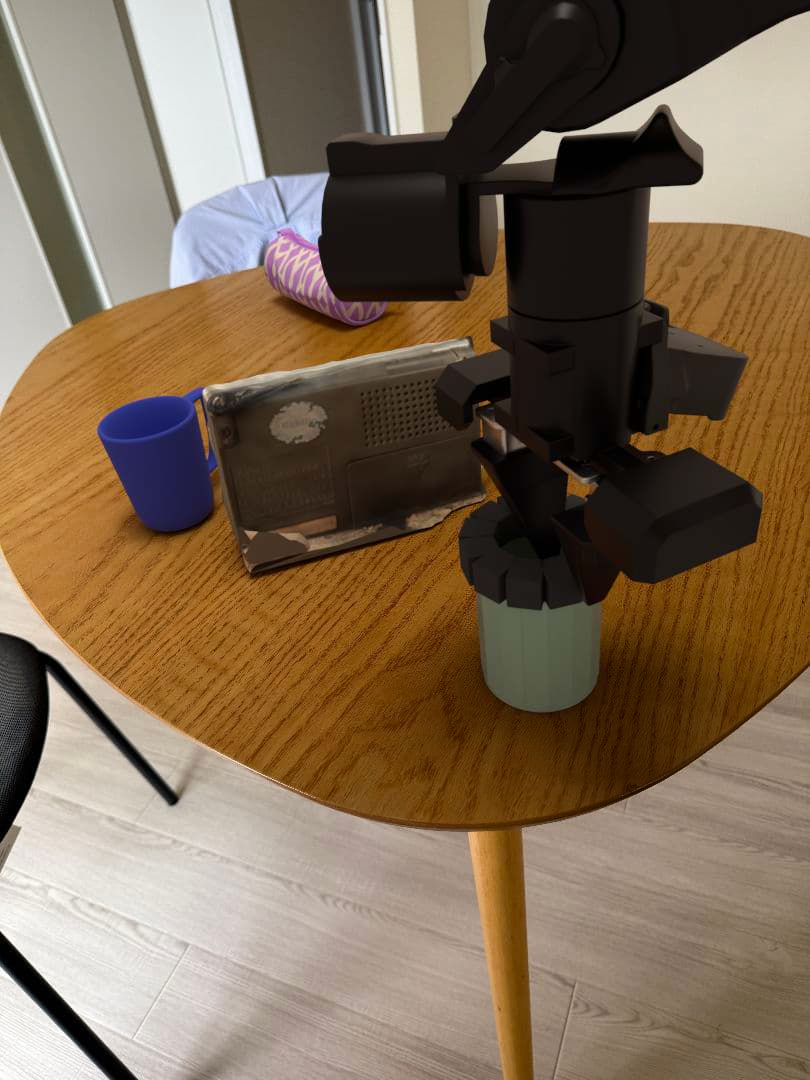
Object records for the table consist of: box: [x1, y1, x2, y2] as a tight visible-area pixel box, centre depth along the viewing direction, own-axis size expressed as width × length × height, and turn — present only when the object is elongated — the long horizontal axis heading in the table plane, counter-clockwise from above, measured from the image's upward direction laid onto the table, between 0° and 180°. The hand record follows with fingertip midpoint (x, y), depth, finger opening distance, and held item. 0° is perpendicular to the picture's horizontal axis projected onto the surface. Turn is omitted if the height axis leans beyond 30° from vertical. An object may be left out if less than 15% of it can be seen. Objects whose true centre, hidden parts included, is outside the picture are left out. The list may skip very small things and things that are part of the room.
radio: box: [202, 335, 488, 574], centre depth 63 cm, size 23×9×15 cm, turn 105°
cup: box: [474, 537, 603, 713], centre depth 48 cm, size 7×7×9 cm
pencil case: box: [263, 227, 389, 326], centre depth 109 cm, size 22×9×10 cm, turn 39°
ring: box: [457, 493, 585, 611], centre depth 45 cm, size 9×9×2 cm
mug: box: [96, 386, 218, 532], centre depth 70 cm, size 8×12×10 cm
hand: (571, 579), depth 42 cm, fingers open, 4 cm apart
